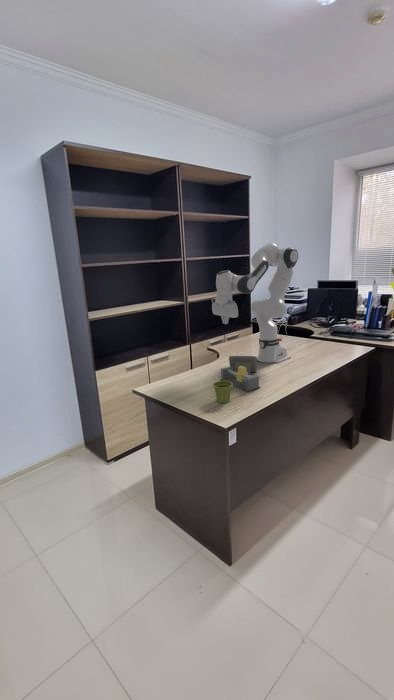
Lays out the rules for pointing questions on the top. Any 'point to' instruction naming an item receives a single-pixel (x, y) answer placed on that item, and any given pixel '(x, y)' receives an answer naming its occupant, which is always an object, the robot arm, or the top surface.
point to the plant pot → (223, 391)
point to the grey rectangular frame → (247, 385)
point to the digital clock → (243, 363)
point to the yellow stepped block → (241, 373)
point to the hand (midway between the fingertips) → (225, 323)
